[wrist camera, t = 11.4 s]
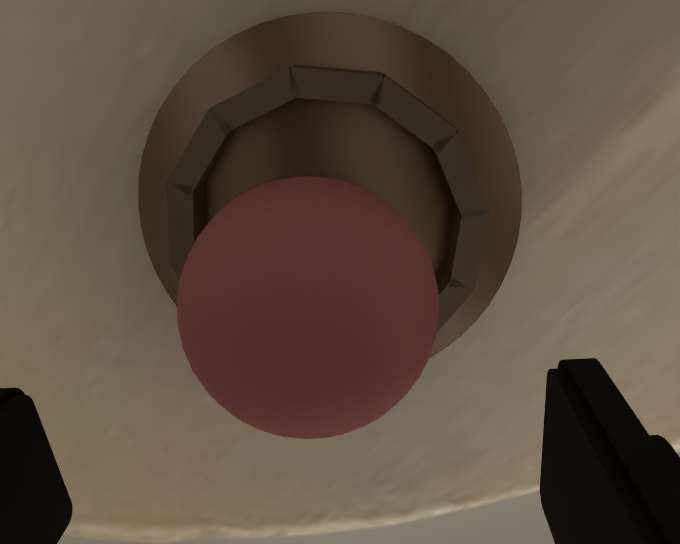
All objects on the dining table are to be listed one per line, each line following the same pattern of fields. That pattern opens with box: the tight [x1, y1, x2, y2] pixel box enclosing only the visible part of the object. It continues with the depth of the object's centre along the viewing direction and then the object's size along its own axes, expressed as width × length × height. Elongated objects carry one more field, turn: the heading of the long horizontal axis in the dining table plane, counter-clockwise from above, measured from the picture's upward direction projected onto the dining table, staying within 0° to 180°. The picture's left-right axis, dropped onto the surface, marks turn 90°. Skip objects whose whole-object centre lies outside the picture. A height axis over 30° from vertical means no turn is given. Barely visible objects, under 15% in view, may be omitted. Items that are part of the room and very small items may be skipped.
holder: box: [139, 13, 521, 358], centre depth 23 cm, size 16×16×3 cm
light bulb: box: [177, 176, 439, 439], centre depth 18 cm, size 7×7×12 cm
